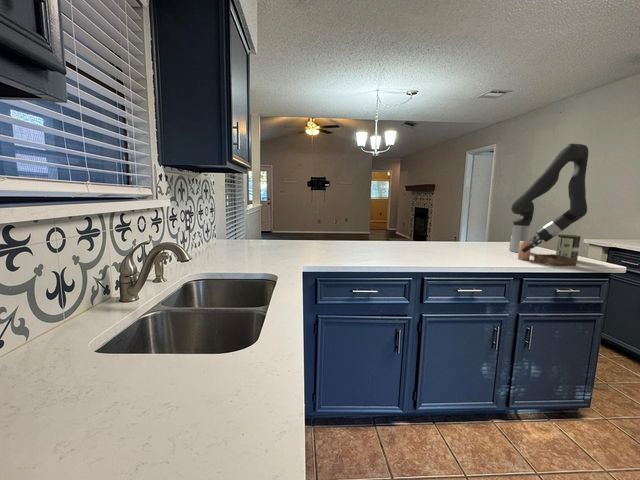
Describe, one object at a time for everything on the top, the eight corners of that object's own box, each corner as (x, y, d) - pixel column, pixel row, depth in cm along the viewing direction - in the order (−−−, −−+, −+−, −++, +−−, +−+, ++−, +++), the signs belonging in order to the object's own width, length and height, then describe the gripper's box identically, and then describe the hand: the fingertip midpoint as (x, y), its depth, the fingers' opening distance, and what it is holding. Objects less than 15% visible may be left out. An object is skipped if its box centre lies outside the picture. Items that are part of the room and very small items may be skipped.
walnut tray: (533, 260, 178) (534, 254, 177) (553, 260, 180) (554, 254, 179) (554, 266, 165) (555, 259, 164) (575, 265, 167) (576, 259, 167)
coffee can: (572, 258, 185) (576, 234, 183) (580, 262, 176) (584, 237, 174) (552, 257, 189) (555, 233, 187) (558, 260, 179) (561, 236, 177)
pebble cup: (515, 258, 183) (517, 241, 182) (523, 258, 184) (525, 240, 183) (523, 260, 178) (525, 242, 176) (531, 260, 179) (533, 242, 177)
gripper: (541, 225, 181) (515, 243, 188) (545, 227, 169) (518, 247, 175) (551, 235, 180) (525, 253, 186) (556, 238, 167) (528, 257, 174)
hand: (521, 250), depth 181 cm, fingers open, 8 cm apart
